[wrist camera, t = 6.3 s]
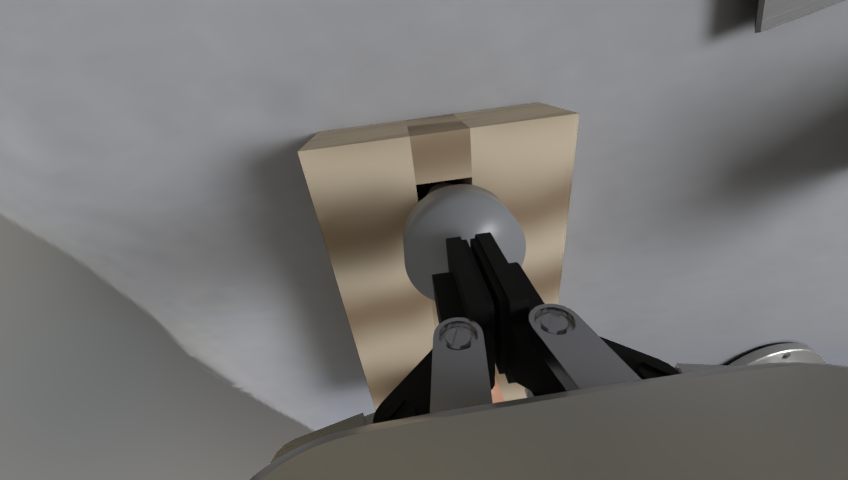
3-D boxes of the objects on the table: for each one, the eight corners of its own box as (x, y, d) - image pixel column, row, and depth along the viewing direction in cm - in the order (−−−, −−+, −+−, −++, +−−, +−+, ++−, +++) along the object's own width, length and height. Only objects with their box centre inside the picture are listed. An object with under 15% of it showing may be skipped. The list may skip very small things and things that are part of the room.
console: (525, 348, 31) (547, 395, 27) (380, 370, 31) (379, 421, 26) (539, 102, 20) (579, 113, 16) (317, 132, 20) (297, 151, 16)
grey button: (486, 230, 20) (523, 296, 14) (406, 242, 20) (412, 313, 14) (484, 150, 18) (528, 191, 12) (394, 162, 18) (395, 210, 12)
